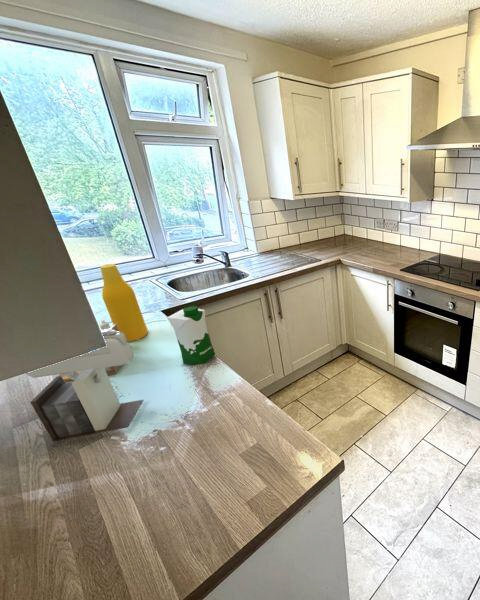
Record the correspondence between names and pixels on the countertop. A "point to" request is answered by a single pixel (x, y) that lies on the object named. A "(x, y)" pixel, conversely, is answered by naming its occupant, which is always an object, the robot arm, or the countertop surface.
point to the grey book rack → (74, 412)
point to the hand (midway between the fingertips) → (92, 382)
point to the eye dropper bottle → (104, 325)
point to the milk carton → (192, 335)
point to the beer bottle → (122, 304)
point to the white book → (96, 398)
